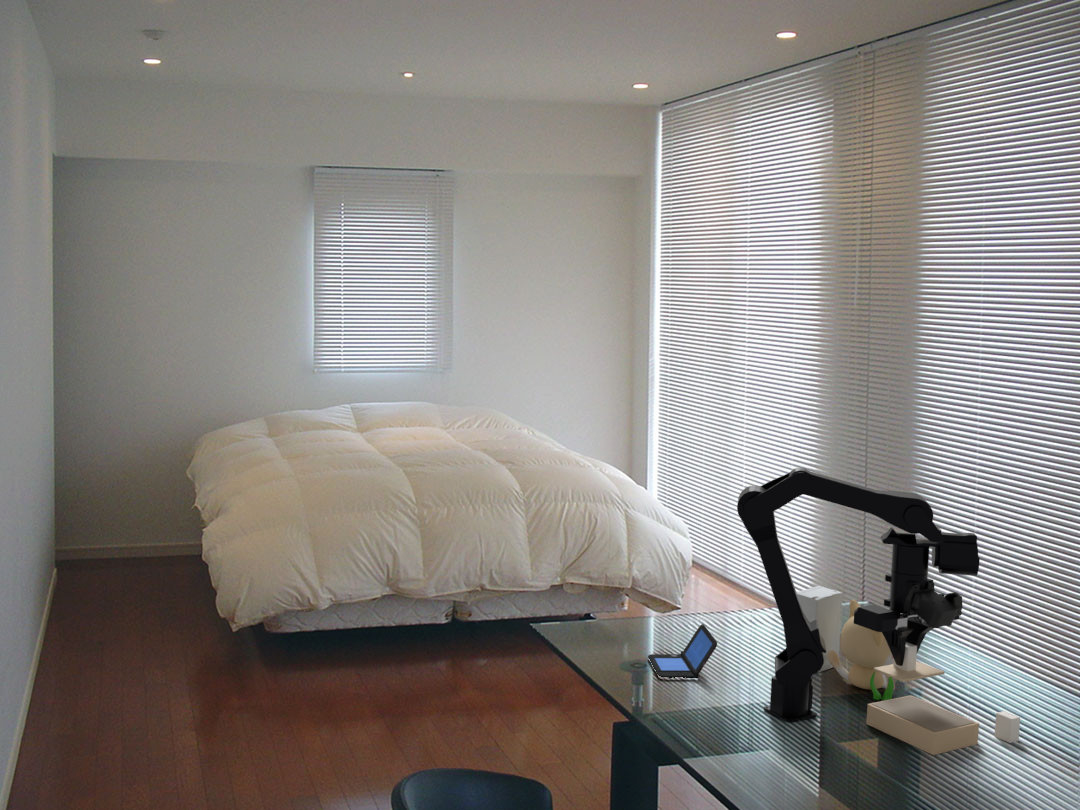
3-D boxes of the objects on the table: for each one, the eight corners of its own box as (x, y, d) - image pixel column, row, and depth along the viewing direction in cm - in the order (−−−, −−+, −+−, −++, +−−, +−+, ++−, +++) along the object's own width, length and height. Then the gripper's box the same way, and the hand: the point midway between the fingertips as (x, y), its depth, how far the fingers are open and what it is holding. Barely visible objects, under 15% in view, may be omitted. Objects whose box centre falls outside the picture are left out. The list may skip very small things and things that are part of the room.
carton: (933, 755, 173) (934, 733, 172) (866, 723, 185) (867, 703, 185) (977, 744, 178) (979, 722, 177) (909, 714, 190) (910, 694, 190)
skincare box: (814, 659, 219) (818, 584, 217) (840, 667, 214) (844, 591, 213) (787, 667, 213) (791, 590, 212) (813, 675, 209) (817, 597, 207)
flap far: (903, 682, 178) (904, 655, 178) (873, 670, 184) (874, 644, 184) (944, 673, 183) (946, 647, 183) (914, 662, 189) (915, 637, 188)
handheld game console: (646, 659, 216) (647, 622, 215) (701, 660, 217) (703, 622, 216) (658, 682, 204) (660, 642, 203) (716, 682, 204) (718, 642, 204)
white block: (995, 750, 177) (997, 723, 176) (962, 735, 182) (964, 709, 182) (1034, 740, 181) (1036, 714, 181) (1001, 726, 187) (1003, 701, 186)
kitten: (915, 701, 197) (920, 617, 195) (863, 703, 195) (868, 619, 193) (872, 673, 211) (876, 595, 210) (823, 675, 209) (827, 596, 208)
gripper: (906, 588, 171) (901, 687, 173) (989, 576, 180) (983, 671, 182) (853, 572, 181) (848, 666, 182) (934, 562, 190) (929, 651, 191)
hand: (904, 664), depth 184 cm, fingers closed on flap far, 2 cm apart
